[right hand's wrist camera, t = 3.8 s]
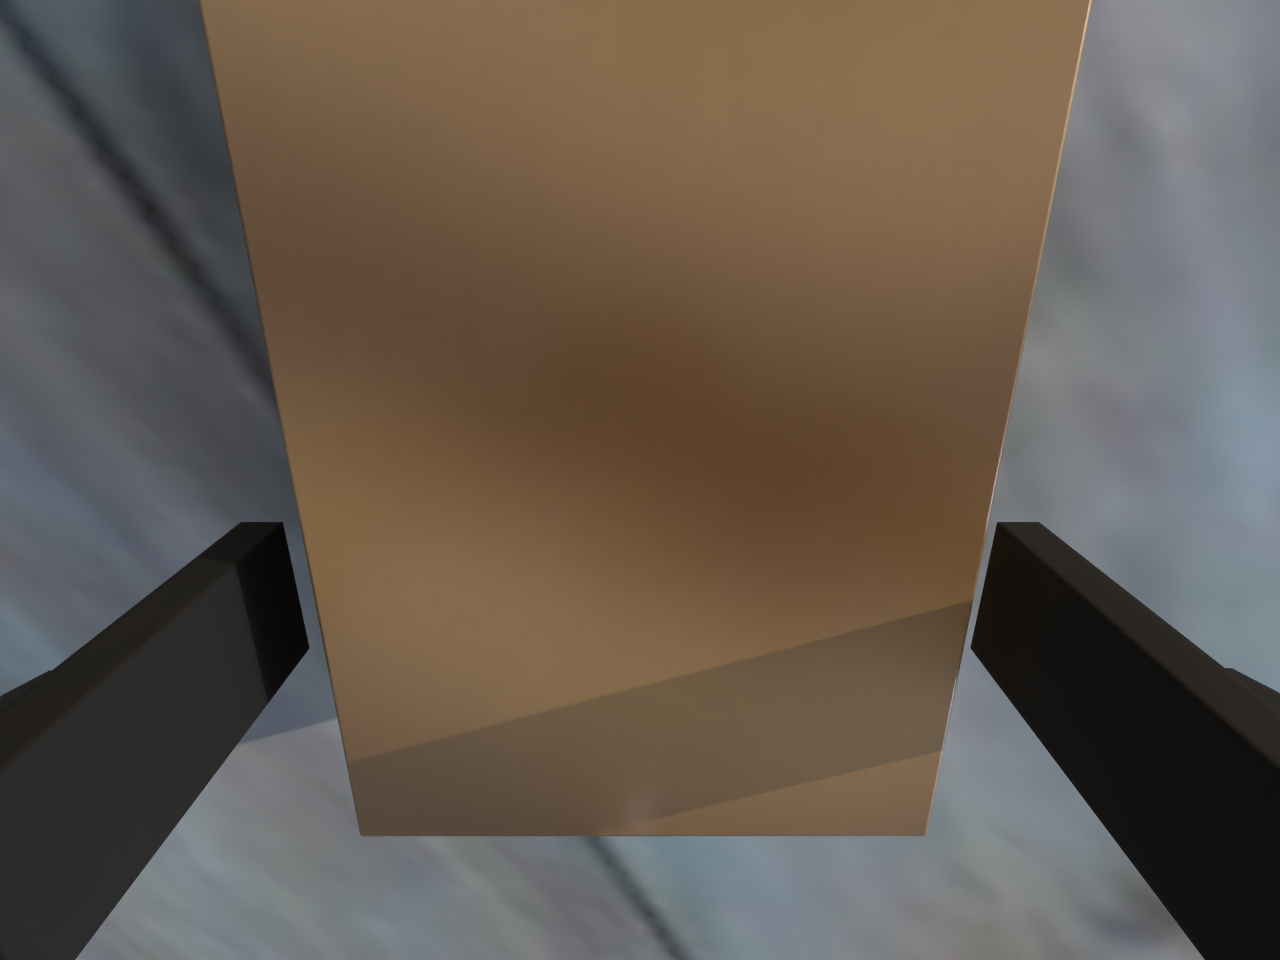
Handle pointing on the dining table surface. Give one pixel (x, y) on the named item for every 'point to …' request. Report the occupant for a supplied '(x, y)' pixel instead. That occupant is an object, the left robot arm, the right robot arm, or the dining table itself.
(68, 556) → the dining table surface
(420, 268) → the cabinet
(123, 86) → the dining table surface
